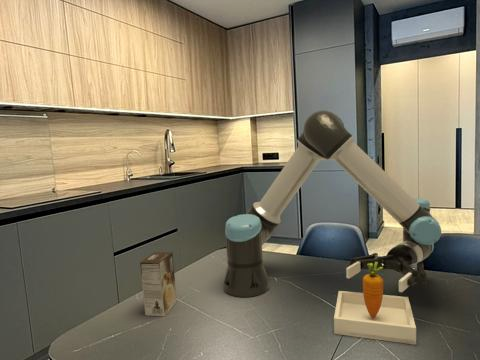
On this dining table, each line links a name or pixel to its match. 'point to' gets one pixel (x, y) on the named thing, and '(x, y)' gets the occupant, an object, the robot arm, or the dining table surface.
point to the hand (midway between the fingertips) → (372, 279)
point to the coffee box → (158, 283)
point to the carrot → (373, 290)
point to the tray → (383, 325)
